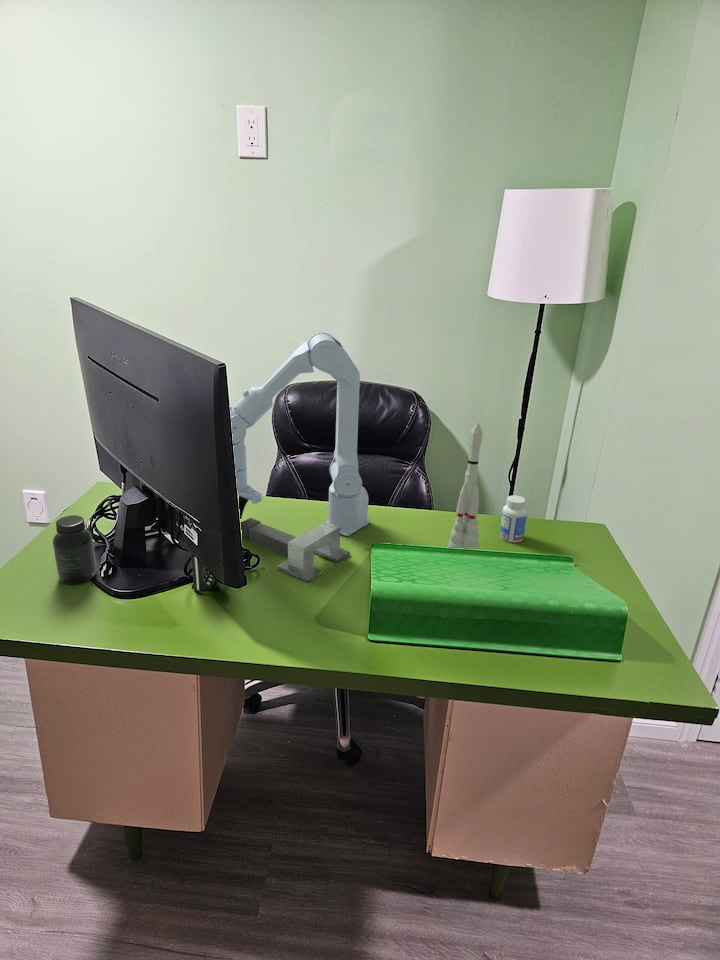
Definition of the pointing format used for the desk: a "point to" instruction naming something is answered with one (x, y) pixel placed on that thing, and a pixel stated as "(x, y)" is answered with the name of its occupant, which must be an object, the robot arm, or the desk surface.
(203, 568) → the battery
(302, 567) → the mounting bracket
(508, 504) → the pill bottle
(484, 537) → the desk surface
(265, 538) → the plug
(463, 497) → the rocket model
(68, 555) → the supplement bottle
